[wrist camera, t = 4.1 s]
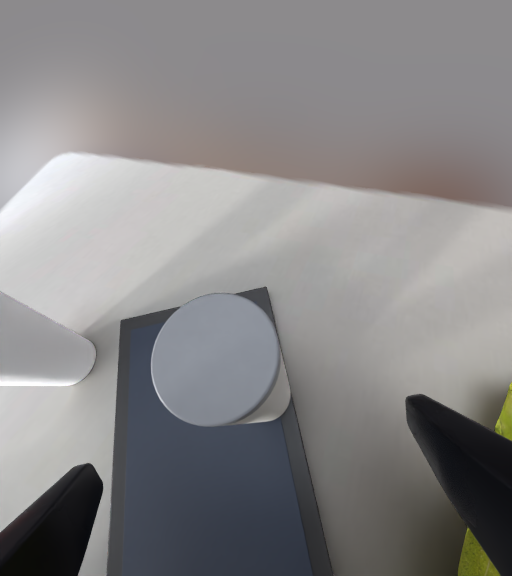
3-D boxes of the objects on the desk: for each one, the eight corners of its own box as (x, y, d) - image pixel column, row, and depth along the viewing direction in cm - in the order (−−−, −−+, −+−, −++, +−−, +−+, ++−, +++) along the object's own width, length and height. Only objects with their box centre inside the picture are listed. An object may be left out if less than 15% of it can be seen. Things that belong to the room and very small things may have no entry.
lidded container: (296, 415, 15) (294, 410, 5) (244, 426, 15) (149, 440, 5) (284, 362, 16) (264, 279, 7) (237, 372, 16) (149, 306, 7)
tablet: (368, 728, 11) (375, 756, 10) (108, 769, 11) (91, 800, 10) (267, 291, 20) (266, 285, 19) (127, 324, 20) (119, 319, 19)
